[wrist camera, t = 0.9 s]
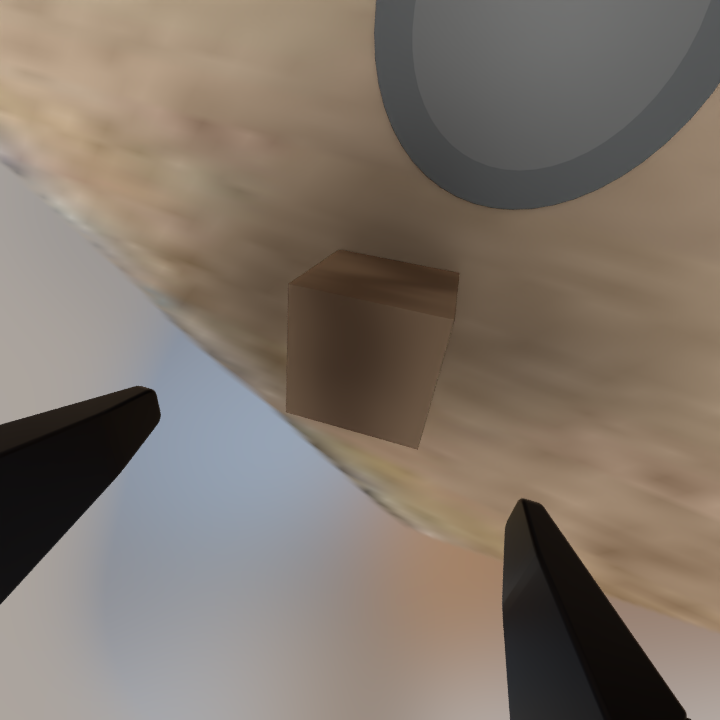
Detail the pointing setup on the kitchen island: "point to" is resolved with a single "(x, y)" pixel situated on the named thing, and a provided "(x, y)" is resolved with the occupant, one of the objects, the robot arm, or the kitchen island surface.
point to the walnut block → (368, 343)
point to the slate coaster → (541, 89)
